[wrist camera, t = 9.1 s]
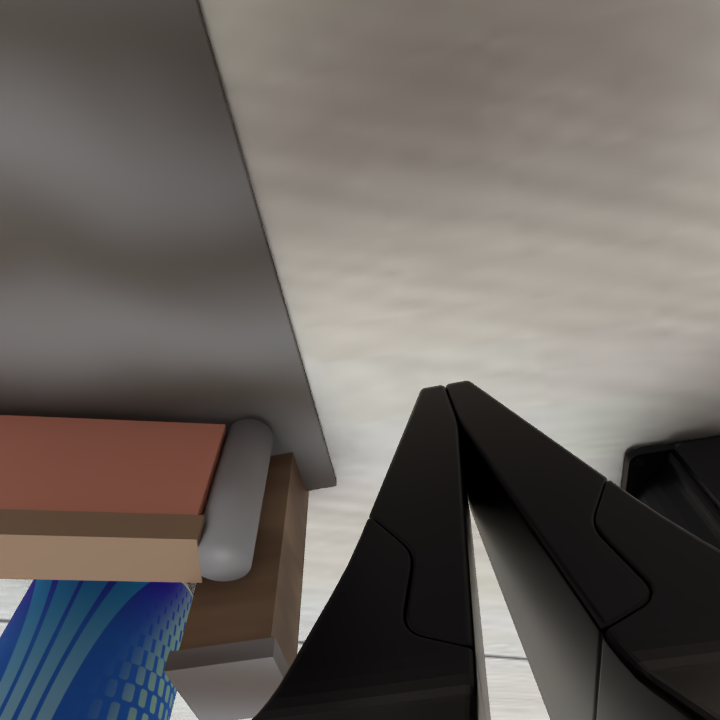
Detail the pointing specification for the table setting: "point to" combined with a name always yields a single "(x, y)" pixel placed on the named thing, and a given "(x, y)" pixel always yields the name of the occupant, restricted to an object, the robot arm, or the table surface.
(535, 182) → the table surface
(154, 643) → the beer can
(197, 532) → the bar
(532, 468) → the robot arm
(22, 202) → the gate frame
